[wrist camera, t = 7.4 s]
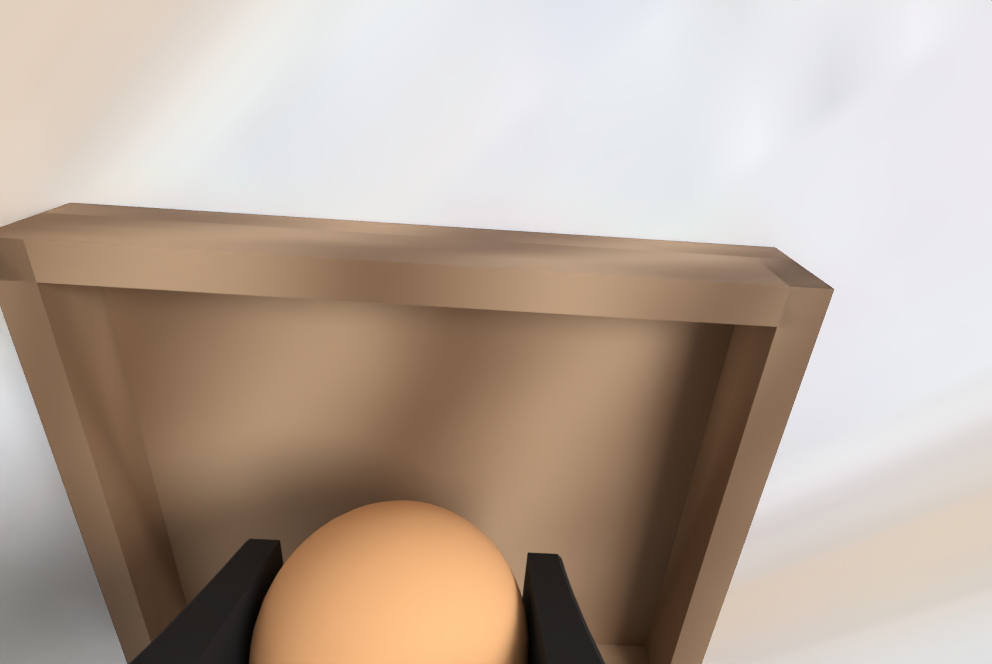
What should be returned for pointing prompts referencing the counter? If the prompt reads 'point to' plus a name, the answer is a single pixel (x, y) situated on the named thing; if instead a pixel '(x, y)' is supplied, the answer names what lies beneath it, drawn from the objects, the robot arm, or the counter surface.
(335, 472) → the tray
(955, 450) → the counter surface
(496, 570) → the ball
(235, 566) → the robot arm
